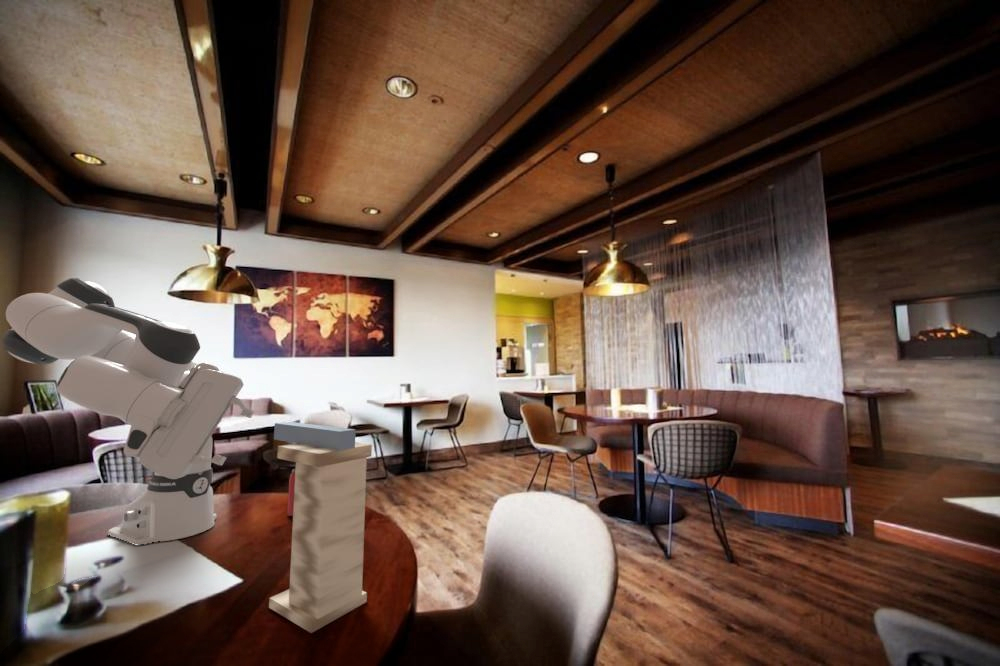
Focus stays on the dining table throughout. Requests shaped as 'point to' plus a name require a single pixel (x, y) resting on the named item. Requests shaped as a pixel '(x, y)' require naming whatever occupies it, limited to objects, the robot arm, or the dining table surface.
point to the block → (315, 435)
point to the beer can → (291, 493)
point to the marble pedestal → (325, 534)
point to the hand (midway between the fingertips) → (238, 437)
